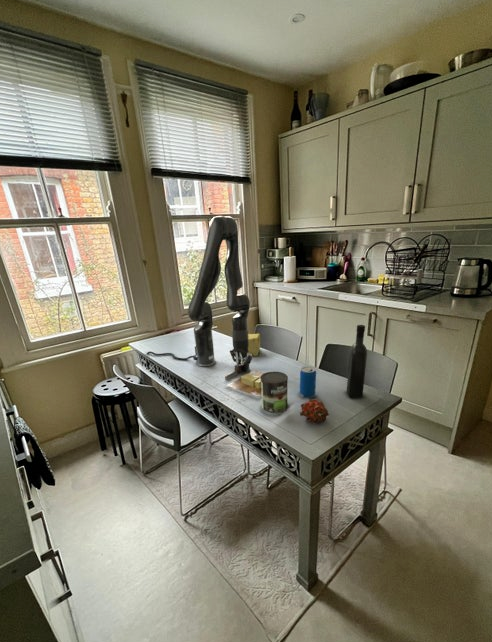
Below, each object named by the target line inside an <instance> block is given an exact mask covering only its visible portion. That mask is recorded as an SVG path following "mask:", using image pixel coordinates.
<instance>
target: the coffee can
mask: <svg viewBox="0 0 492 642" xmlns="http://www.w3.org/2000/svg"><path fill="white" fill-rule="evenodd" d="M263 373H264V374H262V375H261V408H262V409H263V410H264V411H265V412H268V413H273V414H276V413H280V414H279V416H282V415H284V414H286V413H287V412H288V380H289V378H288V375H287V373H284V372H281V371H267V372H263Z"/></svg>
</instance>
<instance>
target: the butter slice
mask: <svg viewBox="0 0 492 642" xmlns="http://www.w3.org/2000/svg"><path fill="white" fill-rule="evenodd" d="M255 388H258V389H259V388H261V378H260V379H258V380H257V381H255Z"/></svg>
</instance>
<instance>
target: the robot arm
mask: <svg viewBox="0 0 492 642" xmlns="http://www.w3.org/2000/svg"><path fill="white" fill-rule="evenodd" d="M207 230H208V231H207V237H206V243H205V249H204V253H203V257H202V261H201V265H200V269H199V272H198V277H197V281H196V284H195V287H194V291H193V294H192V297H191V300H190V302H189V305H188V307H187V316H188V318H189V320H190V321H191V322H193V323H197V324H196V325H195V326H194V327H193V335H194V345H195V346H194V353H195V354H193V355H190V356H188V357H178V356H175V354H174V353H172V352H164V353H155V352H154V351H148V352H147V353H146V355H150V354H152V355H154V356H167V355H168V356H172V358H174V359H176V360H180V361H188V360H189V359H192V358H193V360H194V361H196V364H197V365H198V366H199V367H211V366H213V365H215V364H216V358H215V347H214V339H213V327H214V325H213V323H214V322H213V310H212V307H211V306H212V305H211V304H210V303H209V302H208V301H207V299H208V297H209V296H210V295H211V293H212V292H213V291H214V289H215V288H216V287H217V284H218V282H219V279H220V276H221V273H222V265H221V259H220V249H221V246H222V243H223V241H224V242H225V244H226V259H225V263H224V278H225V282H226V300H225V301H226V307H227V309H228V310H229V311H230V312H231V313H236V314H235V315H234V316H232V318H231V335H232V336H231V339H232V348H233V349H231V350H229V354H230V356H231V358H232V361H233V362H235V363H236V365H237V364H239V363H241V362H242V368H243V372H242V373H246V372H247V371H248V370H247V365H248V364H249V365H250V364H251V363H252V360H253V358H254V356H253V354H250V353H249V351H248V346H249V343H248V334H249V330H248V316H249V311H250V308H251V307H250V306H251V304H250V302H251V301H250V298H249V297H248V295H246V294H245V293H240V294H238V291H239V290H240V289H242V288H243V287H244V286H243V285H244V283H243V277H242V272H241V267H240V265H241V264H240V253H239V252H240V251H239V250H240V248H239V247H240V246H239V229H238V223H237V220H236V219H235V218H233V217H232V216H223V215H217V216H216V215H215V216H213V218H212V219H211V220H210V221H209V225H208V229H207ZM244 361H245V362H244Z"/></svg>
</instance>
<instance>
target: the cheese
mask: <svg viewBox="0 0 492 642" xmlns="http://www.w3.org/2000/svg"><path fill="white" fill-rule="evenodd" d="M248 343H249V346H248V351H249V353H250V354H253V357H257V356H258V354H259V352H260V350H261V335H260V333H248Z"/></svg>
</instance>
